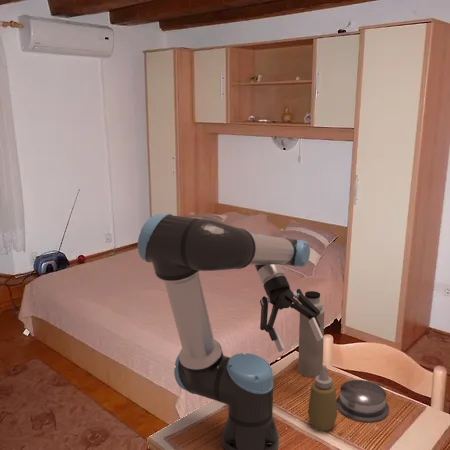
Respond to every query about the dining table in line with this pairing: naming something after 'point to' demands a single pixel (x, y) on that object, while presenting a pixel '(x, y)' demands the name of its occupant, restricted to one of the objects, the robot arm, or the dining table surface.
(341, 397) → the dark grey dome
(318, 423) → the squeeze bottle
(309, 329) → the thermos bottle
